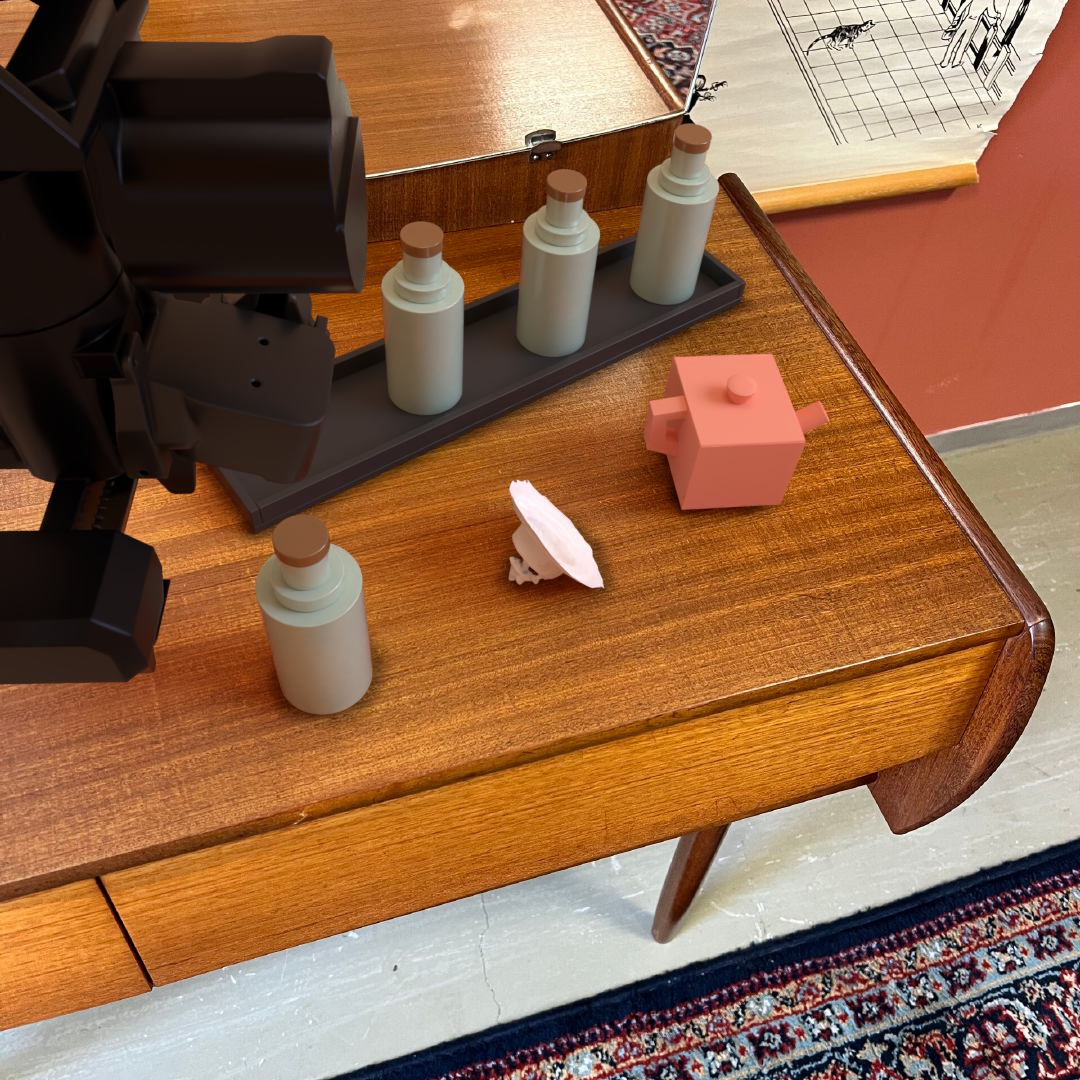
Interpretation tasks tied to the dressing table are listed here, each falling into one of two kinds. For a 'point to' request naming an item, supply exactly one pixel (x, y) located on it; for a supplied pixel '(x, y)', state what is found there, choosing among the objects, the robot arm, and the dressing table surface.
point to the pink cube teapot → (729, 430)
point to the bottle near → (423, 324)
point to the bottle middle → (557, 269)
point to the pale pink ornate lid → (548, 541)
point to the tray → (473, 382)
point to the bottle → (315, 618)
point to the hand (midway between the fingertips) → (164, 574)
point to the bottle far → (675, 220)
